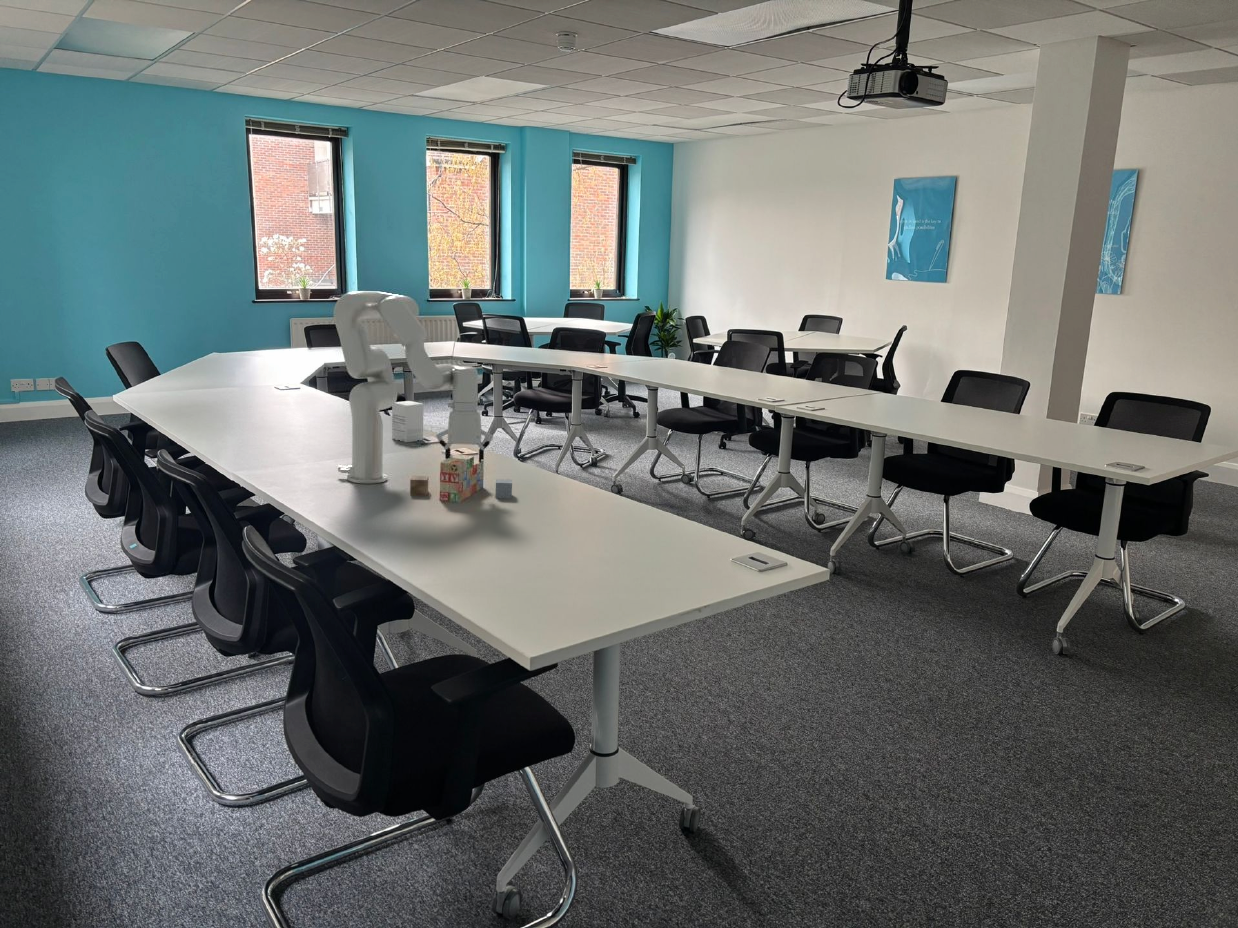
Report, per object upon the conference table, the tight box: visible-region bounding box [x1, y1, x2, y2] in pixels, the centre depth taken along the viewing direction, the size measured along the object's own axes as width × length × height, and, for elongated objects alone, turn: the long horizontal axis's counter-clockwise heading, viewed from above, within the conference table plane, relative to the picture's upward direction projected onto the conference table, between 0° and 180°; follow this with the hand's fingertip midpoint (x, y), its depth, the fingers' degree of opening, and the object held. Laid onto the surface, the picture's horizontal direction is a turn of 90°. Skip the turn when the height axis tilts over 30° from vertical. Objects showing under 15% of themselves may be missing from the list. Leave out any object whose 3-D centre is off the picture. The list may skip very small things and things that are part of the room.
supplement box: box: [391, 400, 424, 443], centre depth 352 cm, size 9×9×15 cm
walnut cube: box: [409, 475, 429, 497], centre depth 274 cm, size 5×5×5 cm
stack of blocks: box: [439, 453, 485, 504], centre depth 276 cm, size 21×6×12 cm, turn 168°
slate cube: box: [494, 478, 513, 500], centre depth 277 cm, size 5×5×5 cm
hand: (464, 461), depth 275 cm, fingers open, 9 cm apart
